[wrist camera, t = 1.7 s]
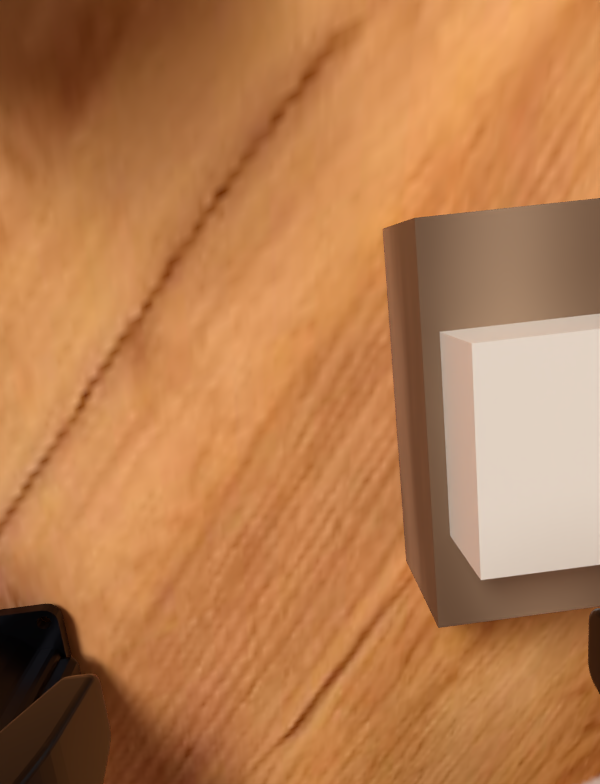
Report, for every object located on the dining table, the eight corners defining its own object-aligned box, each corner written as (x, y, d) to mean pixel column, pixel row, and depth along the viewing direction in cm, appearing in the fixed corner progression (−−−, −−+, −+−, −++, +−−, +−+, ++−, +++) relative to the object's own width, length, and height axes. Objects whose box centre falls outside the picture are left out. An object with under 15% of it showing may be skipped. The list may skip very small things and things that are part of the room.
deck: (406, 560, 21) (438, 627, 17) (382, 229, 18) (414, 217, 14) (716, 521, 21) (817, 577, 17) (737, 190, 19) (861, 169, 15)
